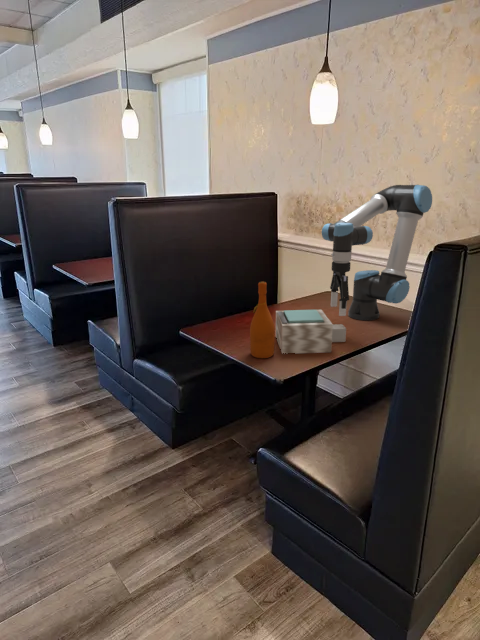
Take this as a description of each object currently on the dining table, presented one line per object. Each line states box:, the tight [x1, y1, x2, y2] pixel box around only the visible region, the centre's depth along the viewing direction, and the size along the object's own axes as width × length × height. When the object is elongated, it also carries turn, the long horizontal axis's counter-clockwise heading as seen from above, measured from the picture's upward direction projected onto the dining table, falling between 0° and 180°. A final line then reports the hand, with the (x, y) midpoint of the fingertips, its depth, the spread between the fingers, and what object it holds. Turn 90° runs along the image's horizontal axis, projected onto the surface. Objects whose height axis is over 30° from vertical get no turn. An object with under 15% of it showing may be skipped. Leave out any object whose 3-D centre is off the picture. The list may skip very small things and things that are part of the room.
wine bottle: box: [249, 281, 276, 359], centre depth 169 cm, size 10×10×30 cm
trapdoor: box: [283, 309, 324, 323], centre depth 180 cm, size 14×14×1 cm
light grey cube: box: [332, 323, 347, 343], centre depth 188 cm, size 6×6×6 cm
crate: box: [275, 308, 333, 355], centre depth 182 cm, size 20×20×12 cm
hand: (337, 310), depth 184 cm, fingers open, 13 cm apart
